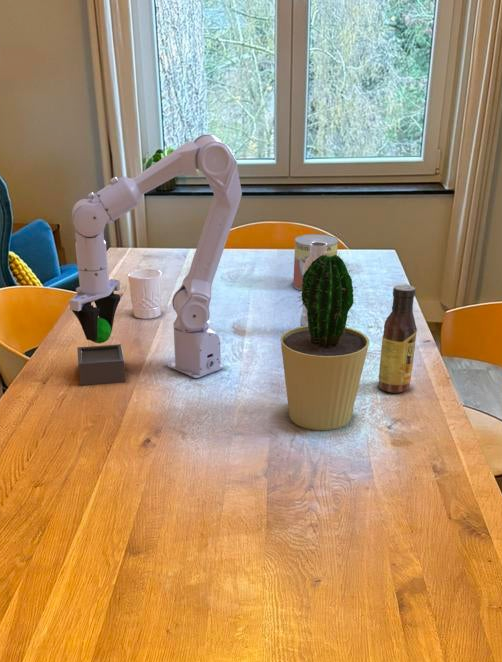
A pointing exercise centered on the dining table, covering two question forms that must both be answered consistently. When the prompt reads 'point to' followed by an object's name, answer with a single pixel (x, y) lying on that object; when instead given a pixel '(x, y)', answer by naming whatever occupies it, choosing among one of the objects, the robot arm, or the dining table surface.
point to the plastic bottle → (315, 251)
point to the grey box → (101, 364)
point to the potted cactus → (324, 349)
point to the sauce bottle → (398, 342)
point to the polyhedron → (102, 331)
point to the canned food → (303, 253)
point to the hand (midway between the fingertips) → (99, 335)
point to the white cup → (145, 292)
